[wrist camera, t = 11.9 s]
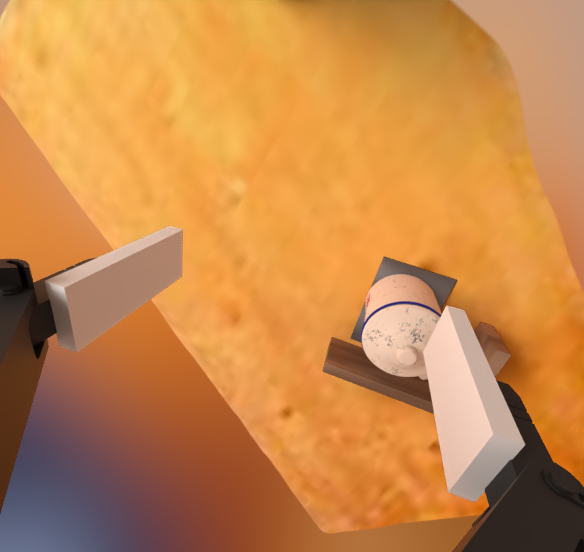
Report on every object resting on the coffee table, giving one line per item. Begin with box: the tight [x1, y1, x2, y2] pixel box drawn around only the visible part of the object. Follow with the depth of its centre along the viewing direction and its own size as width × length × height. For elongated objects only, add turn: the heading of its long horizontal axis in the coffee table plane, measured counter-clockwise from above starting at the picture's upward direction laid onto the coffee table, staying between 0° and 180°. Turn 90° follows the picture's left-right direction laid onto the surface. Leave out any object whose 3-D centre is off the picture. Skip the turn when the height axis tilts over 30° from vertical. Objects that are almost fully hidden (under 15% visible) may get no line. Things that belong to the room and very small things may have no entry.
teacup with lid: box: [361, 274, 442, 380], centre depth 35 cm, size 12×9×12 cm
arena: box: [323, 257, 511, 414], centre depth 38 cm, size 16×18×6 cm
